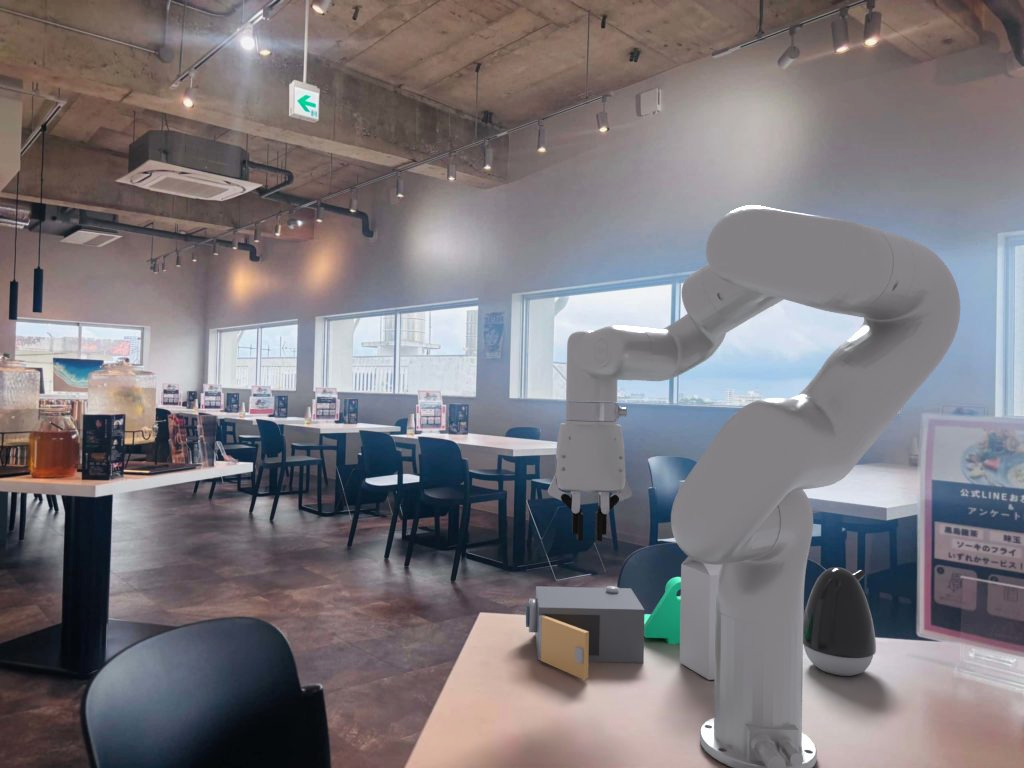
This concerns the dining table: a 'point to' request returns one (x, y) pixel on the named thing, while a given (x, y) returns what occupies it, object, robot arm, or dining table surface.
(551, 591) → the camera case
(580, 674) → the tan cabinet door
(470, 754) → the dining table surface
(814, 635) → the black and white egg
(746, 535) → the robot arm
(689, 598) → the milk carton
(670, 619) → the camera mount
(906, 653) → the dining table surface
